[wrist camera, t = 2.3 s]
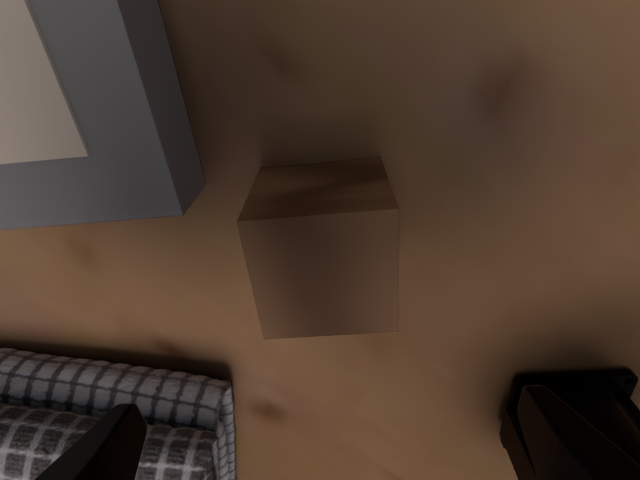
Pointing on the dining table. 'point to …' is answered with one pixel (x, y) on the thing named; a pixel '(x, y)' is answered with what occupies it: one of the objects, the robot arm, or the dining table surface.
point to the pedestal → (91, 115)
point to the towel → (98, 399)
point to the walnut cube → (322, 249)
